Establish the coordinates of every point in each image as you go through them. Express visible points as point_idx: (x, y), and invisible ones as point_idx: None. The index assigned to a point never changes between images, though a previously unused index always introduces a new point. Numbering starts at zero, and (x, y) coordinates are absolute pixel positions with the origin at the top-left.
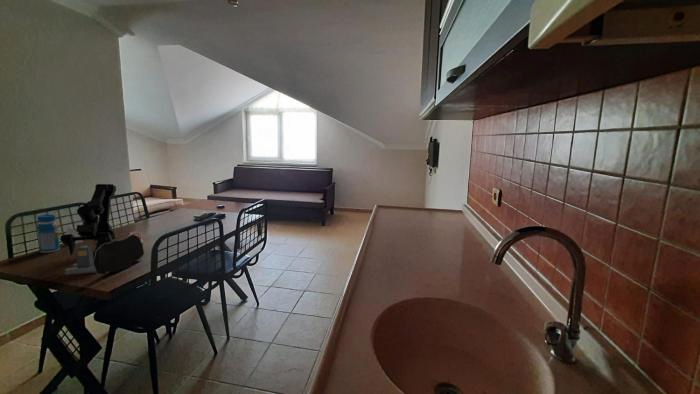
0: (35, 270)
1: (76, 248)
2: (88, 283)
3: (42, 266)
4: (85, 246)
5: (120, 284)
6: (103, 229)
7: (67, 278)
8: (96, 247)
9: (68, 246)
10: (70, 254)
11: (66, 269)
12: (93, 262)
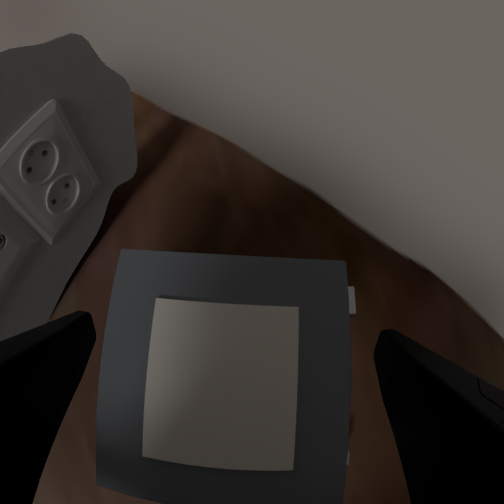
0: None
1: (337, 272)
2: (179, 142)
3: None
4: (182, 369)
5: None
6: None
7: (305, 237)
8: (34, 341)
9: (498, 389)
10: (390, 332)
11: (348, 292)
12: (126, 87)
